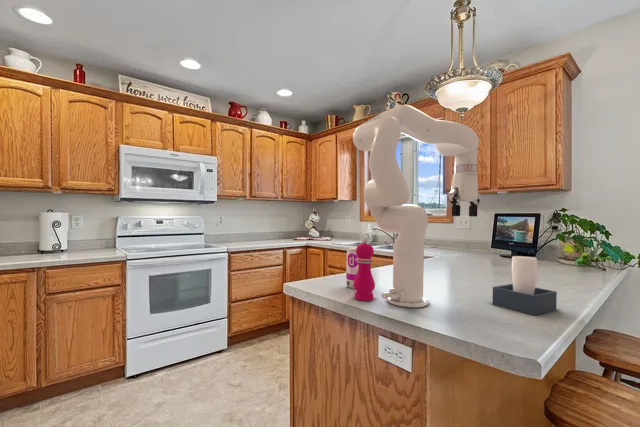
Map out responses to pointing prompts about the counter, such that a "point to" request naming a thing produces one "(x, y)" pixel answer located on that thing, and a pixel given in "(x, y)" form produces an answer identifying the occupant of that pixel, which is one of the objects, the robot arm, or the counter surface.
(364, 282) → the pepper mill
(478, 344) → the counter surface
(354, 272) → the supplement can
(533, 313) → the tub
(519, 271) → the drinking glass
